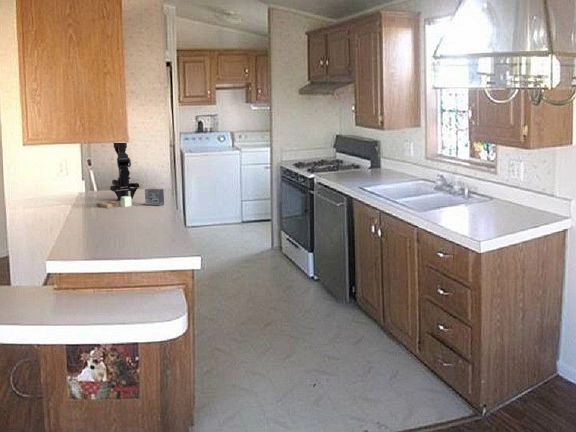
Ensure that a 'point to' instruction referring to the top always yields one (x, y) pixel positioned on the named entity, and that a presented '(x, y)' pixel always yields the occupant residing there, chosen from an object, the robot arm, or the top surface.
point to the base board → (108, 204)
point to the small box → (154, 197)
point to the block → (125, 201)
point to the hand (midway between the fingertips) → (125, 200)
